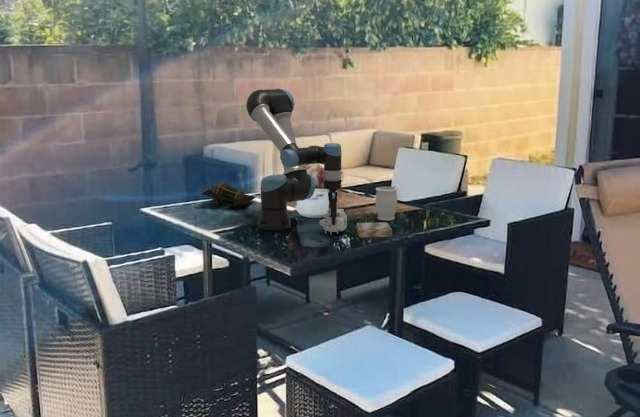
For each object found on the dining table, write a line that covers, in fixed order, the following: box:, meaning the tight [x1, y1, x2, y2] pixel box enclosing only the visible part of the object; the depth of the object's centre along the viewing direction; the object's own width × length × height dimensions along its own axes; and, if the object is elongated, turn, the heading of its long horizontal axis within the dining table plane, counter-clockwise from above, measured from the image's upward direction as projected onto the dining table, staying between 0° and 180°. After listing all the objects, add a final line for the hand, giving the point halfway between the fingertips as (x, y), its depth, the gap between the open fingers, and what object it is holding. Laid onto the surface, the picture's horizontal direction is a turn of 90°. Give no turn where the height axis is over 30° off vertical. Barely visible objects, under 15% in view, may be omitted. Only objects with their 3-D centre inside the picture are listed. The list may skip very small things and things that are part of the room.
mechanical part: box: [319, 207, 348, 236], centre depth 294 cm, size 11×12×12 cm
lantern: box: [198, 179, 257, 208], centre depth 354 cm, size 14×23×30 cm
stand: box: [356, 221, 393, 238], centre depth 295 cm, size 14×14×3 cm
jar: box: [374, 186, 398, 222], centre depth 320 cm, size 11×10×15 cm
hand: (332, 228), depth 295 cm, fingers closed on mechanical part, 11 cm apart
